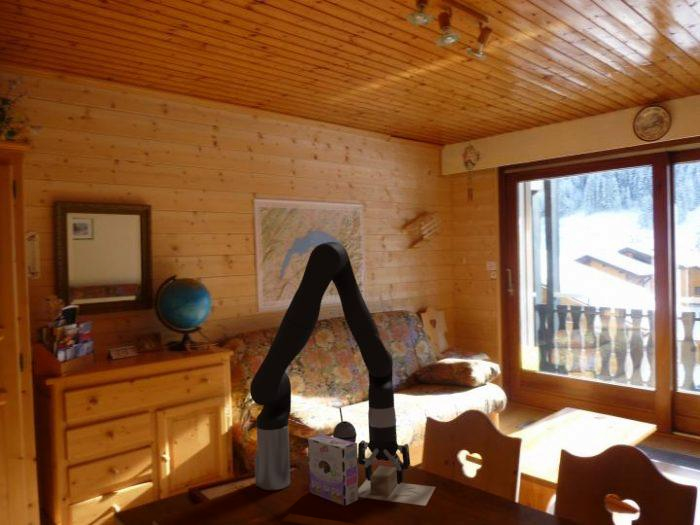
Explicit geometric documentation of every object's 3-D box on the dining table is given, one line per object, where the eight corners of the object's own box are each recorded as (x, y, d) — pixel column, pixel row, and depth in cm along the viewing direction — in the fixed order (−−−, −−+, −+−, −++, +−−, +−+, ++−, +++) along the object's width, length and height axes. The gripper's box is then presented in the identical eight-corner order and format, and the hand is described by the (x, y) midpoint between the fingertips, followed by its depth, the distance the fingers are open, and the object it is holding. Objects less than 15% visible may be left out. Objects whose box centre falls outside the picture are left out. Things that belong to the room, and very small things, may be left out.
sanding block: (370, 494, 147) (370, 476, 147) (379, 483, 155) (379, 465, 155) (388, 497, 146) (388, 478, 146) (396, 485, 153) (396, 467, 153)
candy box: (360, 504, 145) (358, 442, 145) (344, 512, 141) (342, 448, 141) (323, 490, 155) (322, 432, 155) (308, 497, 151) (306, 437, 150)
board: (352, 501, 147) (352, 495, 147) (367, 483, 158) (367, 478, 158) (425, 511, 140) (425, 505, 140) (435, 492, 151) (435, 486, 151)
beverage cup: (357, 477, 163) (355, 410, 163) (333, 477, 164) (331, 411, 164) (357, 467, 171) (355, 403, 171) (334, 468, 171) (332, 404, 171)
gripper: (353, 424, 149) (355, 484, 149) (403, 428, 144) (406, 489, 144) (362, 416, 156) (364, 473, 156) (411, 420, 151) (413, 479, 151)
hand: (384, 481), depth 150 cm, fingers open, 8 cm apart
